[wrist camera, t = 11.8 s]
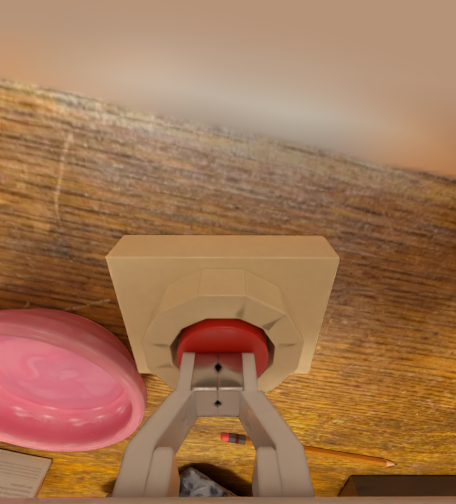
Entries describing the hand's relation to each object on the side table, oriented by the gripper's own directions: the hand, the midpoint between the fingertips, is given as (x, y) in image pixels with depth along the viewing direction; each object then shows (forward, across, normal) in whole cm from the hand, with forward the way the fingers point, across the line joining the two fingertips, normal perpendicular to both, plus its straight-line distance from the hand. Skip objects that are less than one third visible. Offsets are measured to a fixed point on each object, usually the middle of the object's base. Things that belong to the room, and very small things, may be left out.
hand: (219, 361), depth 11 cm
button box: (+4, 0, 0) cm, 4 cm away
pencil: (+5, -9, +19) cm, 22 cm away
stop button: (+2, 0, 0) cm, 2 cm away
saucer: (+4, +11, +6) cm, 13 cm away
